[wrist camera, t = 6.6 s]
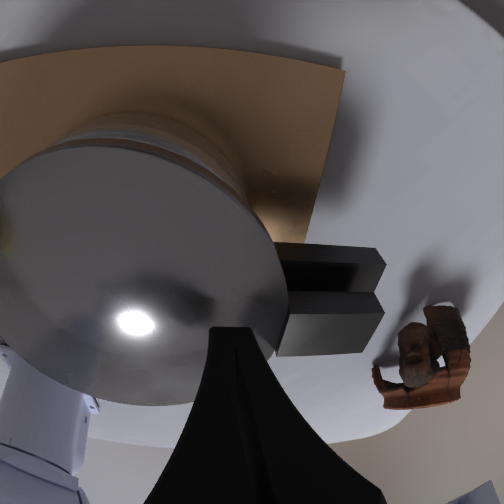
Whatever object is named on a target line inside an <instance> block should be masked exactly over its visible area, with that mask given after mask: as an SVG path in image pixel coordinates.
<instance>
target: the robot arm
mask: <svg viewBox="0 0 504 504" xmlns="http://www.w3.org/2000/svg"><path fill="white" fill-rule="evenodd" d="M0 354H1V355H2V357H3V359H4V360H5V362H6V364H7V365H8V367H9V368H10V370H11V371H10V374H9V376H8V379H7V382H6V385H5V388H4V392H3V395H2V398H1V401H0V504H90V503H89V500H88V498H87V496H86V494H85V493H84V491H83V489H81V488H80V487H79V486H78V478H77V477H74V476H75V475H76V474H77V473H78V472H79V470H80V469H81V467H82V465H83V462H84V457H85V448H86V440H87V432H88V425H89V419H90V413H92V414H99V412H100V409H99V408H98V406H97V404H96V402H95V400H94V397H93V396H89V395H86V394H84V393H81V392H78V391H76V390H73V389H71V388H69V387H67V386H65V385H62V384H60V383H58V382H56V381H55V380H53V379H51V378H49V377H48V376H46V375H44V374H43V373H41V372H40V371H38V370H37V369H35V368H34V367H33V366H31V365H30V364H29V363H27V362H26V361H25V360H24V359H23V358H21V357H20V356H19V355H18V354H17V353H16V352H15V351H14V350H13V349H12V348H11V347H9V346H4V345H0ZM144 504H387V502H386V500H385V498H384V495H383V493H382V491H381V489H379V488H378V487H377V486H375V485H374V484H372V483H371V482H370V481H368V480H367V479H365V478H364V477H363V476H361V475H360V474H359V473H358V472H356V471H355V470H354V469H353V468H352V467H351V466H349V465H348V464H347V463H346V462H345V461H343V459H342V458H340V457H339V456H338V455H337V454H336V453H335V452H334V451H333V450H332V449H331V448H330V447H329V446H328V445H327V444H326V443H325V442H324V441H323V440H322V439H321V438H320V437H319V435H318V434H317V433H316V432H315V431H314V430H313V429H312V428H311V426H310V425H309V424H308V423H307V421H306V420H305V419H304V418H303V416H302V415H301V414H300V413H299V411H298V410H297V409H296V407H295V406H294V404H293V403H292V402H291V400H290V399H289V397H288V396H287V394H286V393H285V391H284V390H283V388H282V387H281V385H280V383H279V382H278V380H277V378H276V377H275V375H274V373H273V371H272V370H271V368H270V366H269V364H268V363H267V361H266V359H265V357H264V355H263V353H262V351H261V349H260V347H259V344H258V342H257V340H256V338H255V335H254V333H253V330H252V329H251V328H250V327H218V326H213V327H211V328H209V337H208V350H207V358H206V363H205V367H204V371H203V375H202V378H201V382H200V385H199V388H198V391H197V394H196V397H195V400H194V403H193V406H192V409H191V412H190V414H189V417H188V419H187V422H186V424H185V427H184V429H183V431H182V434H181V436H180V438H179V440H178V442H177V445H176V447H175V449H174V451H173V453H172V455H171V457H170V459H169V461H168V463H167V465H166V466H165V469H164V470H163V472H162V474H161V475H160V477H159V479H158V481H157V483H156V484H155V486H154V488H153V490H152V491H151V493H150V494H149V496H148V497H147V499H146V500H145V502H144ZM446 504H500V502H499V499H498V497H497V494H496V491H495V488H494V486H493V483H492V481H491V480H489V481H487V482H486V483H484V484H482V485H480V486H479V487H477V488H475V489H474V490H472V491H470V492H469V493H466V494H464V495H462V496H460V497H458V498H456V499H454V500H452V501H450V502H448V503H446Z"/></svg>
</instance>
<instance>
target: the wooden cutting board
mask: <svg viewBox="0 0 504 504" xmlns="http://www.w3.org/2000/svg"><path fill="white" fill-rule="evenodd" d="M345 72H346V71H344V70H340V69H336V68H332V67H328V66H324V65H319V64H315V63H310V62H306V61H301V60H296V59H290V58H285V57H279V56H273V55H267V54H261V53H254V52H246V51H238V50H229V49H219V48H206V47H191V46H160V45H143V46H113V47H98V48H86V49H77V50H68V51H60V52H53V53H47V54H41V55H35V56H29V57H24V58H19V59H15V60H10V61H6V62H1V63H0V179H1V178H2V177H4V176H5V175H6V174H7V173H8V172H10V171H11V170H12V169H13V168H15V167H16V166H17V165H19V164H20V163H21V162H23V161H24V160H26V159H27V158H29V157H30V156H31V155H33V154H35V153H37V152H40V151H42V150H44V149H46V148H48V147H51V146H53V145H57V144H61V143H64V142H68V141H72V140H78V139H89V138H116V139H128V140H133V141H138V142H142V143H147V144H151V145H155V146H158V147H161V148H164V149H166V150H169V151H171V152H174V153H177V154H179V155H182V156H184V157H186V158H188V159H190V160H191V161H193V162H195V163H197V164H199V165H201V166H202V167H204V168H206V169H208V170H209V171H211V172H212V173H213V174H215V175H216V176H217V177H219V178H220V179H221V180H223V181H224V182H225V183H227V184H228V185H230V186H231V187H232V188H233V189H234V190H235V191H236V192H237V193H238V194H239V195H240V196H241V197H242V198H243V199H244V200H245V201H246V202H247V203H248V204H249V205H250V206H251V208H252V209H253V210H254V212H255V213H256V214H257V216H258V217H259V218H260V220H261V221H262V222H263V224H264V226H265V227H266V229H267V231H268V233H269V235H270V237H271V239H272V241H273V242H274V245H275V248H276V251H277V254H278V257H279V260H280V263H281V266H282V270H283V273H284V277H285V280H286V286H287V291H326V292H374V291H375V289H376V287H377V284H378V282H379V280H380V278H381V276H382V274H383V271H384V269H385V267H386V265H387V264H386V263H385V261H384V260H383V258H382V257H381V256H380V254H379V253H378V251H377V250H376V248H367V247H352V246H336V245H321V244H305V243H304V241H305V237H306V234H307V230H308V226H309V223H310V219H311V215H312V211H313V208H314V204H315V200H316V196H317V192H318V188H319V184H320V180H321V176H322V172H323V168H324V164H325V160H326V156H327V152H328V148H329V144H330V140H331V135H332V131H333V127H334V122H335V118H336V114H337V109H338V105H339V100H340V96H341V91H342V86H343V82H344V77H345Z"/></svg>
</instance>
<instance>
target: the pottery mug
mask: <svg viewBox="0 0 504 504" xmlns="http://www.w3.org/2000/svg"><path fill="white" fill-rule="evenodd" d="M423 312H424V315H425V317H426V319H427V326H428V327H427V326H426V325H424V324H422V323H417V322H411V323H409V324H408V325H407V326H405V327H404V328H403V329H402V330H401V331H400V332H399V333H398V346H399V353H400V358H399V367H400V369H399V374H400V376H401V378H402V380H403V382H404V383H397V384H396V383H392V382H389V381H385V380H383V379H382V376H381V373H380V369H379V367H377V366H375V367H374V368H372V378H373V379H374V384H375V385H376V387H377V389H378V391H379V393H381V394H382V395H383V397H384V405H383V407H384V408H385V409H393V410H405V409H414V408H417V409H418V408H427V407H432V406H438V405H443V404H448V403H451V402H454V401H456V400H458V399H460V398H461V396H460V386H461V385H462V383H463V382H464V380H465V378H466V377H467V375H468V371H469V369H470V362H471V358H470V355H469V354H470V345H469V342H468V341H469V340H468V338H467V334H466V327H465V325H464V323H463V321H462V319H461V317H460V313H459V310H458V309H456V308H453V307H452V306H431V307H425V308H424V310H423ZM441 355H442V356H443V359H444V362H445V366H444V367H440V365H439V363H438V361H437V359H438V358H439V357H440V356H441Z"/></svg>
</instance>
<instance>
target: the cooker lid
mask: <svg viewBox="0 0 504 504" xmlns="http://www.w3.org/2000/svg"><path fill="white" fill-rule="evenodd" d="M384 314H385V312H384V310H383V308H382V306H381V305H380V303H379V301H378V299H377V297H376V295H375V293H374V292H326V291H287V286H286V280H285V277H284V273H283V270H282V266H281V263H280V260H279V257H278V254H277V251H276V248H275V245H274V242H273V241H272V239H271V237H270V235H269V233H268V231H267V229H266V227H265V226H264V224H263V222H262V221H261V220H260V218H259V217H258V216H257V214H256V213H255V212H254V210H253V209H252V208H251V206H250V205H249V204H248V203H247V202H246V201H245V200H244V199H243V198H242V197H241V196H240V195H239V194H238V193H237V192H236V191H235V190H234V189H233V188H232V187H231V186H230V185H228V184H227V183H225V182H224V181H223V180H221V179H220V178H219V177H217V176H216V175H215V174H213V173H212V172H211V171H209V170H208V169H206V168H204V167H202V166H201V165H199V164H197V163H195V162H193V161H191V160H190V159H188V158H186V157H184V156H182V155H179V154H177V153H174V152H171V151H169V150H166V149H164V148H161V147H158V146H155V145H151V144H147V143H142V142H138V141H133V140H128V139H116V138H89V139H78V140H72V141H68V142H64V143H61V144H57V145H53V146H51V147H48V148H46V149H44V150H42V151H40V152H37V153H35V154H33V155H31V156H30V157H29V158H27V159H26V160H24V161H23V162H21V163H20V164H19V165H17V166H16V167H15V168H13V169H12V170H11V171H10V172H8V173H7V174H6V175H5V176H4V177H2V178H1V179H0V336H1V337H2V339H3V340H4V341H5V342H6V343H7V344H8V345H9V346H10V347H11V348H12V349H13V350H14V351H15V352H16V353H17V354H18V355H19V356H20V357H21V358H23V359H24V360H25V361H26V362H27V363H29V364H30V365H31V366H33V367H34V368H35V369H37V370H38V371H40V372H41V373H43V374H44V375H46V376H48V377H49V378H51V379H53V380H55V381H56V382H58V383H60V384H62V385H65V386H67V387H69V388H71V389H73V390H76V391H78V392H81V393H84V394H86V395H89V396H93V397H96V398H99V399H103V400H107V401H112V402H117V403H123V404H130V405H142V406H167V405H178V404H184V403H190V402H194V400H195V397H196V394H197V391H198V388H199V385H200V382H201V378H202V375H203V371H204V367H205V363H206V358H207V350H208V337H209V328H211V327H213V326H218V327H250V328H251V329H252V330H253V333H254V335H255V338H256V340H257V342H258V344H259V347H260V349H261V351H262V353H263V355H264V357H265V359H266V361H267V360H268V359H269V358H270V357H271V355H272V354H273V352H274V351H275V352H276V357H283V356H313V355H333V354H348V353H362V352H363V350H364V349H365V347H366V345H367V344H368V342H369V340H370V339H371V337H372V335H373V333H374V332H375V330H376V328H377V326H378V325H379V323H380V321H381V319H382V317H383V316H384Z"/></svg>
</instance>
